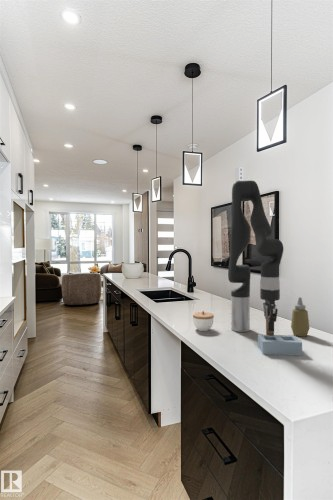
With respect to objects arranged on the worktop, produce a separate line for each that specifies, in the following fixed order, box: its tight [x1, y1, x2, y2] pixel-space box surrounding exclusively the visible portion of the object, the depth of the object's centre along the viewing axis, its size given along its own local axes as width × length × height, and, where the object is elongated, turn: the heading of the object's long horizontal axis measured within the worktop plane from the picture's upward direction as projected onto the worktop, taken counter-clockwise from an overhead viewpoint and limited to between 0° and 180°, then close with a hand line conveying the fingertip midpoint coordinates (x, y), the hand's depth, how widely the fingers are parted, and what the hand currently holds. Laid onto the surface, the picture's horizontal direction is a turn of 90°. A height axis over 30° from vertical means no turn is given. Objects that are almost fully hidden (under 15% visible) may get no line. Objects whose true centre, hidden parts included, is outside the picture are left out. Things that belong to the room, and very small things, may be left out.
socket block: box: [257, 334, 303, 356], centre depth 118 cm, size 9×15×5 cm, turn 84°
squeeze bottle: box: [290, 297, 310, 338], centre depth 138 cm, size 8×8×18 cm
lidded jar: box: [192, 310, 215, 332], centre depth 149 cm, size 11×11×9 cm
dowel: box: [265, 313, 275, 336], centre depth 118 cm, size 3×3×10 cm
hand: (270, 329), depth 118 cm, fingers closed on dowel, 3 cm apart
